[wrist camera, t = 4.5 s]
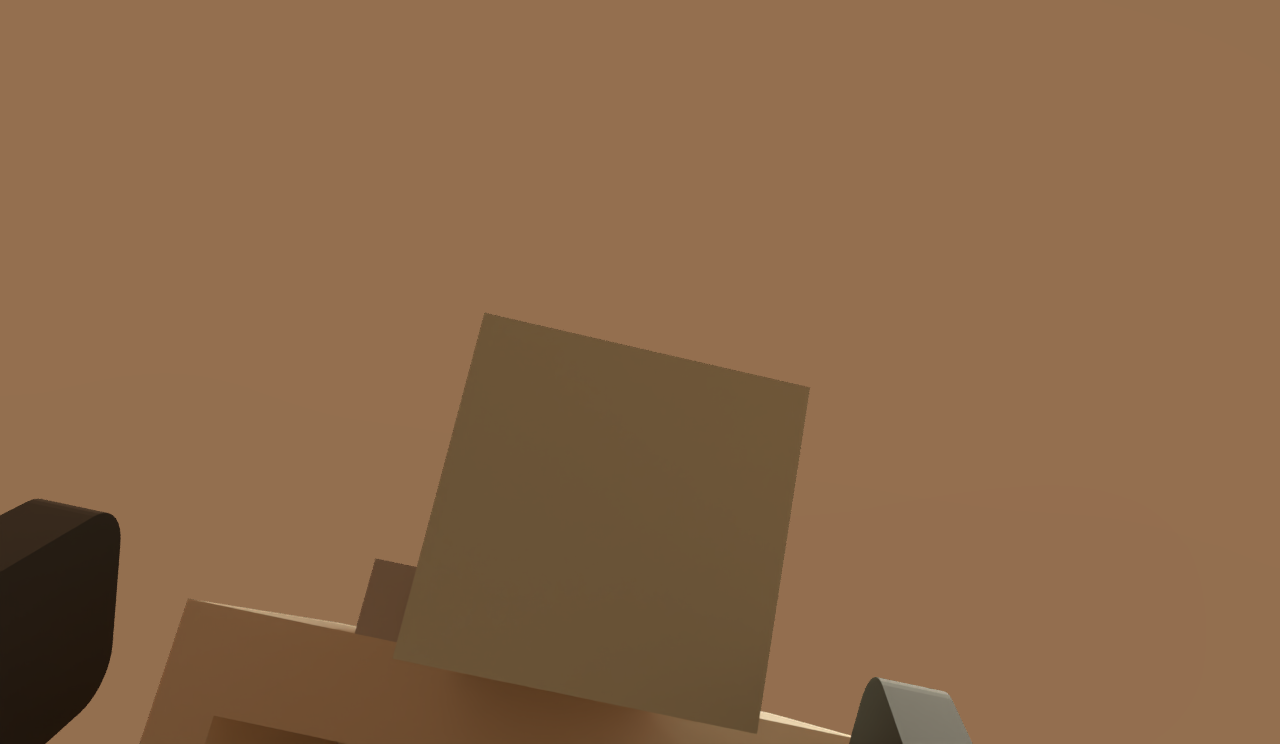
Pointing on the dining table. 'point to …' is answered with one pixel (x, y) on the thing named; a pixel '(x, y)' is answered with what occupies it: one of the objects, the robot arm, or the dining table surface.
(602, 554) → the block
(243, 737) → the block
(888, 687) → the robot arm
